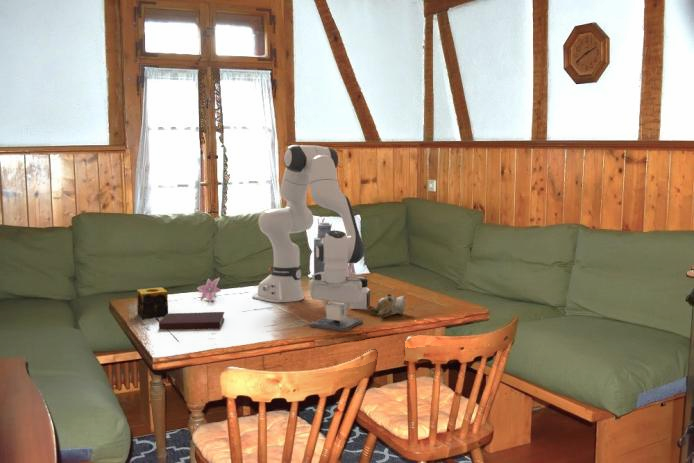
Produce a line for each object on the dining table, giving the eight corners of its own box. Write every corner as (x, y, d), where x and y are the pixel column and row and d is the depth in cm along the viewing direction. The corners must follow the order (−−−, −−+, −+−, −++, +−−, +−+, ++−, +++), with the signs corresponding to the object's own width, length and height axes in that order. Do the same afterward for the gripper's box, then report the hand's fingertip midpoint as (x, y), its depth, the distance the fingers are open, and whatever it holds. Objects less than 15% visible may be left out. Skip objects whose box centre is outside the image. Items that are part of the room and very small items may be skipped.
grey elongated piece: (309, 287, 321) (309, 222, 317) (325, 284, 328) (325, 220, 324) (323, 290, 314) (322, 224, 310) (339, 287, 321) (339, 222, 317)
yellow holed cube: (142, 320, 262) (140, 294, 261) (136, 314, 271) (135, 289, 270) (169, 316, 267) (168, 291, 266) (163, 311, 276) (162, 286, 275)
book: (220, 330, 249) (219, 320, 248) (158, 331, 248) (158, 321, 247) (225, 320, 263) (224, 311, 262) (167, 321, 262) (166, 312, 261)
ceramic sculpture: (411, 293, 265) (377, 300, 259) (412, 315, 266) (378, 322, 260) (397, 289, 275) (364, 294, 268) (398, 310, 276) (365, 316, 269)
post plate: (310, 326, 251) (310, 314, 251) (329, 318, 264) (329, 306, 263) (344, 331, 245) (344, 318, 244) (362, 322, 257) (362, 310, 256)
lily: (196, 299, 301) (191, 284, 296) (218, 287, 306) (213, 272, 301) (208, 311, 294) (202, 296, 288) (230, 299, 298) (225, 283, 293)
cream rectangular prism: (326, 318, 253) (326, 304, 252) (333, 315, 258) (333, 301, 257) (339, 320, 250) (339, 306, 250) (346, 317, 255) (346, 303, 254)
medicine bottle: (367, 309, 277) (367, 280, 275) (349, 309, 278) (349, 279, 277) (370, 305, 284) (370, 276, 282) (352, 305, 285) (352, 276, 284)
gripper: (365, 277, 250) (365, 314, 252) (317, 272, 260) (317, 308, 261) (357, 280, 244) (357, 318, 246) (308, 275, 254) (308, 311, 256)
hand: (336, 313), depth 254 cm, fingers closed on cream rectangular prism, 5 cm apart
